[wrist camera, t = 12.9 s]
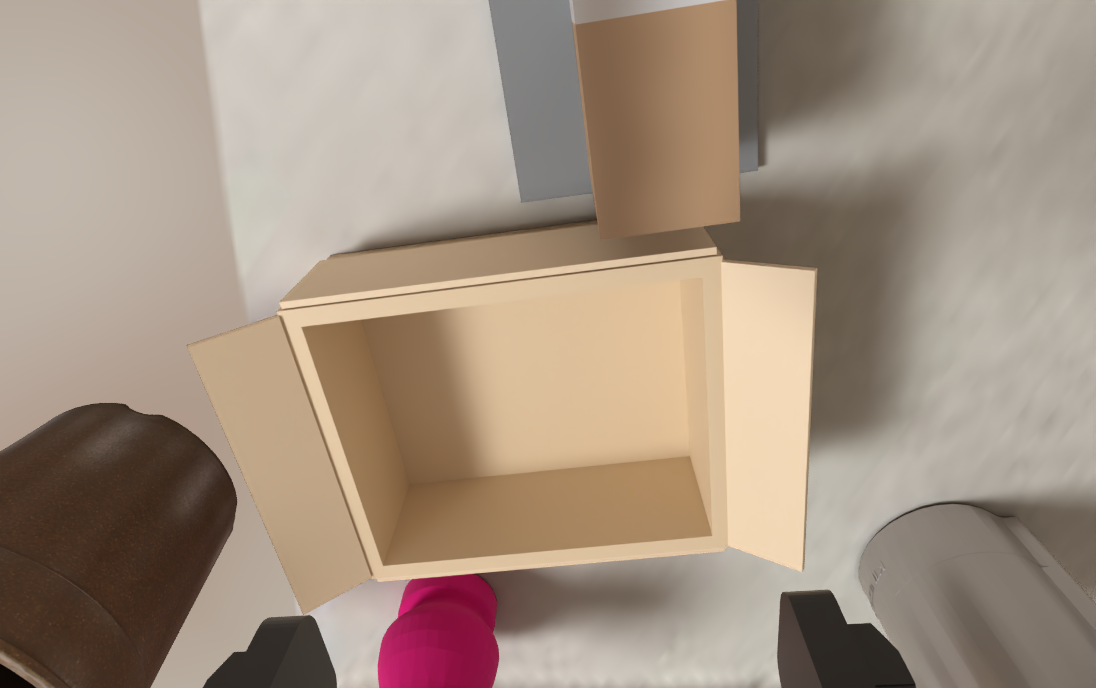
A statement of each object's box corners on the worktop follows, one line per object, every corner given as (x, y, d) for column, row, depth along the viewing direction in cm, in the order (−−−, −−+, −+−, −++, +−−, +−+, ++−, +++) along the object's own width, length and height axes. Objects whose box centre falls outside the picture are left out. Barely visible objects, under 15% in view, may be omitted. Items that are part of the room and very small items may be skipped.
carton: (753, 192, 31) (820, 255, 23) (753, 459, 38) (805, 580, 30) (272, 255, 33) (177, 335, 25) (356, 499, 40) (303, 623, 32)
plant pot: (-60, 454, 39) (-419, 710, 25) (110, 312, 35) (-209, 524, 20) (156, 614, 45) (-35, 896, 31) (326, 509, 41) (195, 783, 26)
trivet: (754, -114, 26) (758, -117, 25) (754, 168, 31) (757, 170, 30) (479, -67, 27) (477, -69, 26) (522, 199, 32) (521, 202, 31)
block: (675, -71, 26) (734, -114, 17) (687, 159, 30) (740, 221, 21) (563, -51, 26) (563, -84, 17) (589, 173, 30) (600, 240, 21)
